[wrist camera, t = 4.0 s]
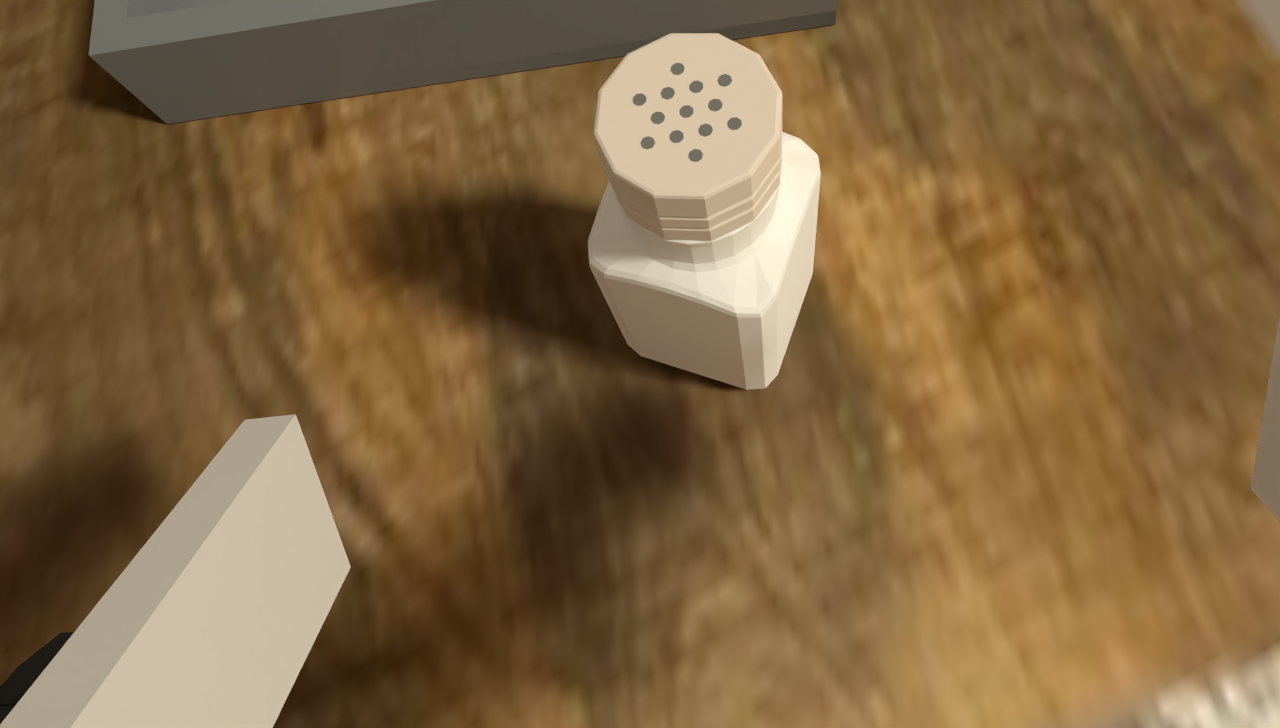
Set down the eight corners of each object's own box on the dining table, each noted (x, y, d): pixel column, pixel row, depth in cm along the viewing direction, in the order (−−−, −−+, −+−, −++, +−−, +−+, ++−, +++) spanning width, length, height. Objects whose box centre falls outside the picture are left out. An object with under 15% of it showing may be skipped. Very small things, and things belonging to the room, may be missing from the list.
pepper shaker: (818, 261, 25) (840, 37, 16) (770, 403, 24) (763, 250, 15) (674, 221, 26) (617, -13, 17) (622, 356, 25) (532, 185, 16)
